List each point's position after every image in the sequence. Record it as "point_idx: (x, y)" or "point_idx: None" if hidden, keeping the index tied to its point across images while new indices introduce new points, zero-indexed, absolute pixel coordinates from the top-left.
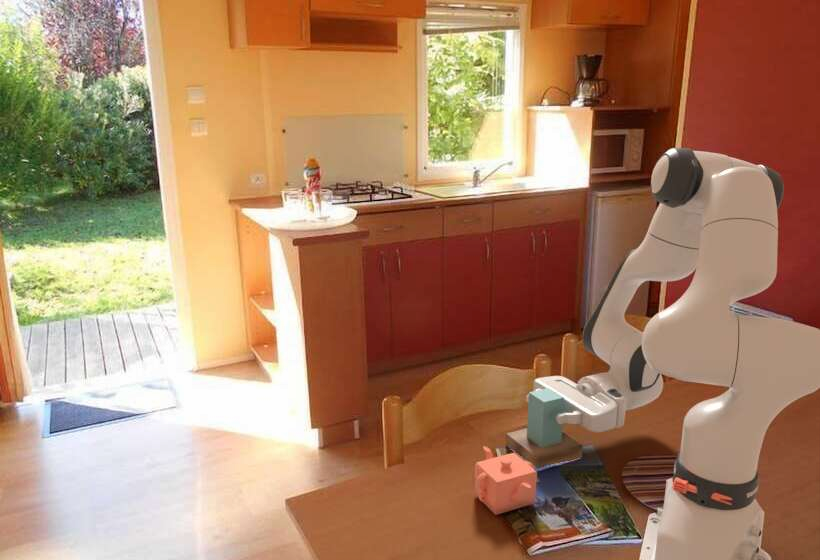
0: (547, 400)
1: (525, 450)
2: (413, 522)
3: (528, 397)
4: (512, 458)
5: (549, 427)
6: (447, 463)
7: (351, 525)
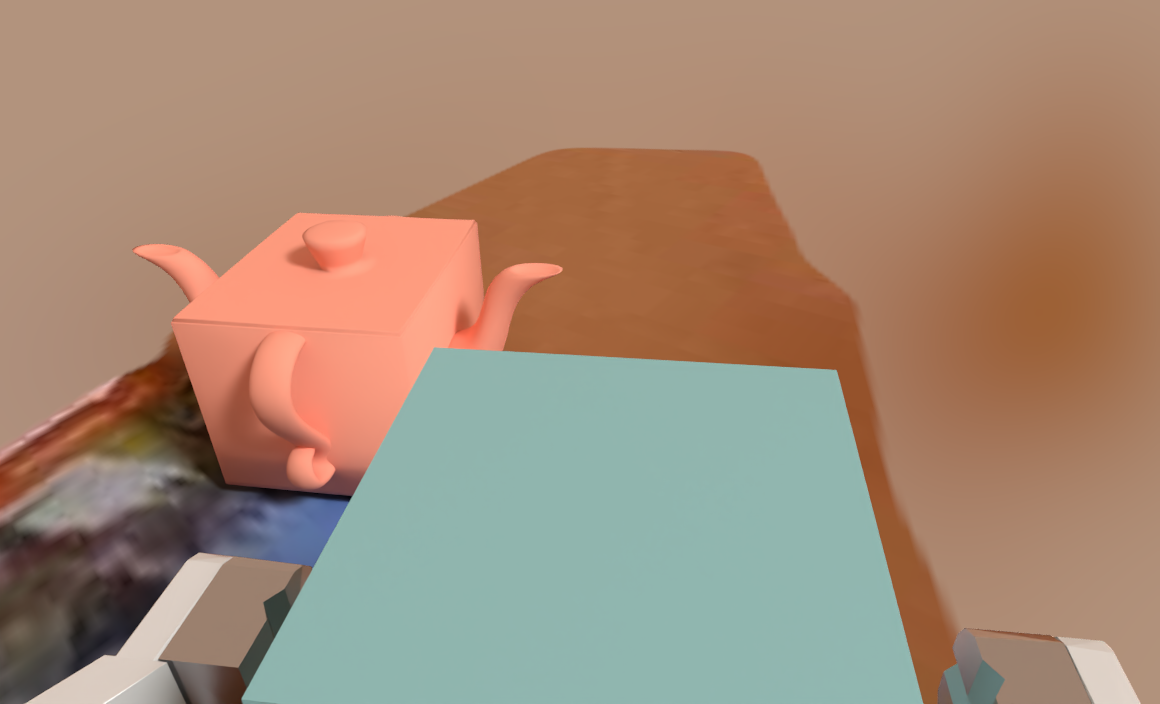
0: (434, 397)
1: None
2: (512, 242)
3: (1024, 636)
4: (364, 304)
5: None
6: None
7: (600, 183)
